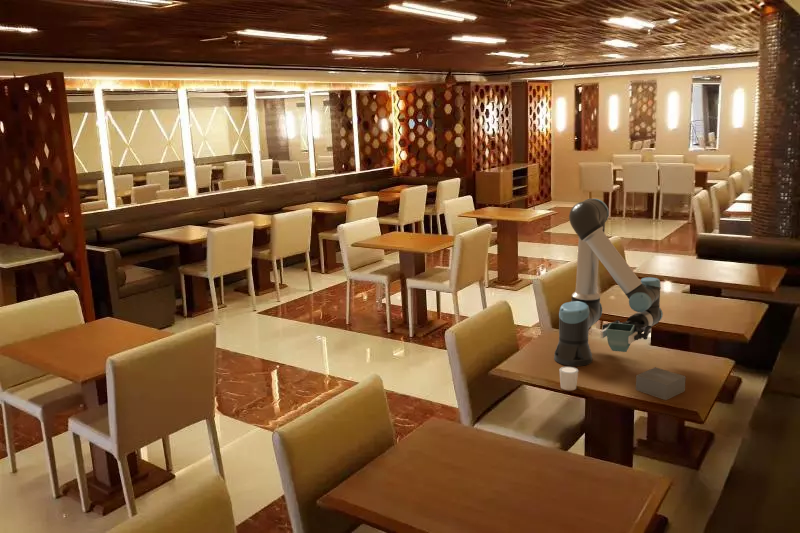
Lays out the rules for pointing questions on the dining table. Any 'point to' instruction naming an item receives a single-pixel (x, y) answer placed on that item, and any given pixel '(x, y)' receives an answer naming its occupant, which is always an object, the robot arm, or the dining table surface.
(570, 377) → the shot glass
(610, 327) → the flower pot
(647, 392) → the charcoal stand
